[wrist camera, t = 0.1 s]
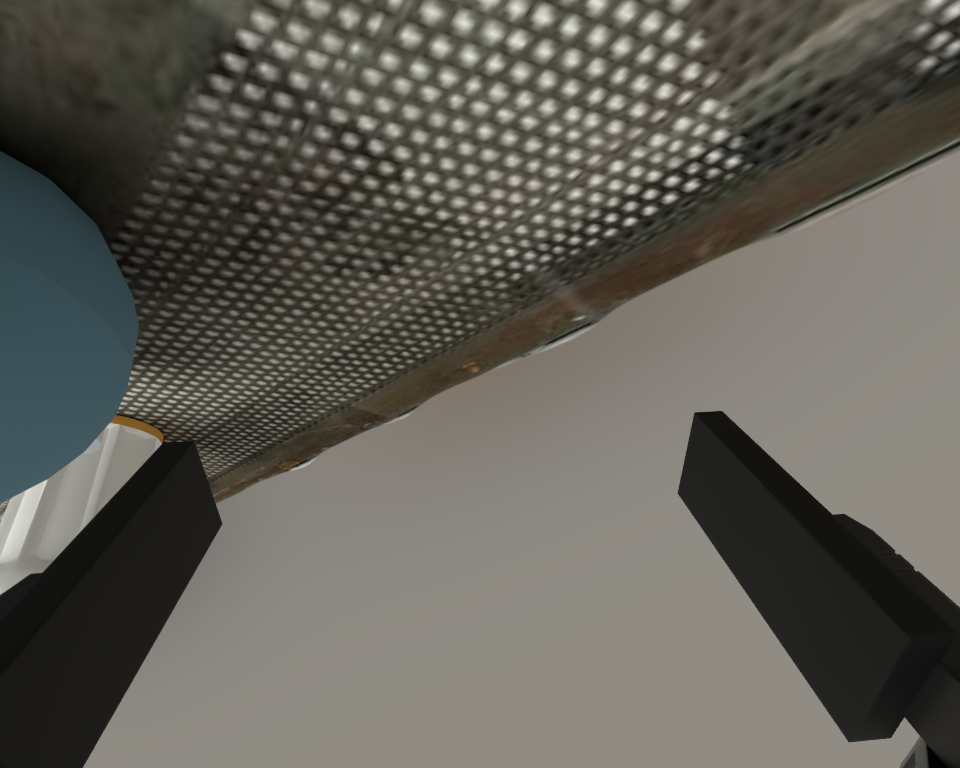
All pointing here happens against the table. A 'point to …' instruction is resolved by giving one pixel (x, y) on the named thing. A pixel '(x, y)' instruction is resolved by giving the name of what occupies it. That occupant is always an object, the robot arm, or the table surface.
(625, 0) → the table surface
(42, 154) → the table surface
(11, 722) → the robot arm
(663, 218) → the table surface
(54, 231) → the vase
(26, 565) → the cup
